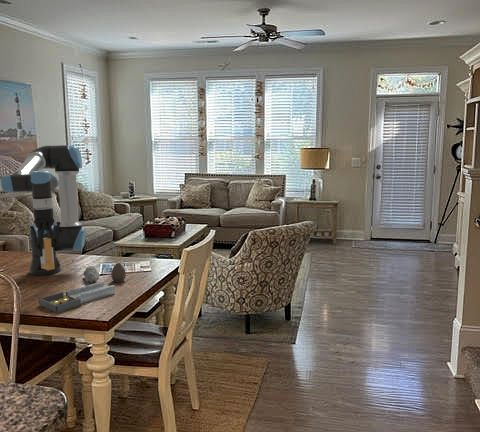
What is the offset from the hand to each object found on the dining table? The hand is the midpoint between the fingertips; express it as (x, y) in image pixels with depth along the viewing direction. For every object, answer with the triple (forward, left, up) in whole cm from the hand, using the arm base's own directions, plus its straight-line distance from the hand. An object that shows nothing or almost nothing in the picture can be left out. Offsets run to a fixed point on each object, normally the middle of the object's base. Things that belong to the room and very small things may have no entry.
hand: (47, 262), depth 201 cm
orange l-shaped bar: (0, 0, -3) cm, 3 cm away
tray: (+11, -2, -16) cm, 20 cm away
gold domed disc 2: (+11, 0, -16) cm, 19 cm away
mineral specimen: (-10, +27, -17) cm, 33 cm away
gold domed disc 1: (+11, -4, -16) cm, 20 cm away
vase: (+2, +34, -16) cm, 38 cm away
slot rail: (+11, +13, -16) cm, 24 cm away
